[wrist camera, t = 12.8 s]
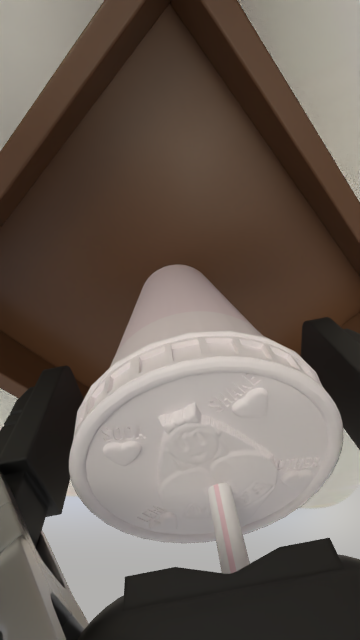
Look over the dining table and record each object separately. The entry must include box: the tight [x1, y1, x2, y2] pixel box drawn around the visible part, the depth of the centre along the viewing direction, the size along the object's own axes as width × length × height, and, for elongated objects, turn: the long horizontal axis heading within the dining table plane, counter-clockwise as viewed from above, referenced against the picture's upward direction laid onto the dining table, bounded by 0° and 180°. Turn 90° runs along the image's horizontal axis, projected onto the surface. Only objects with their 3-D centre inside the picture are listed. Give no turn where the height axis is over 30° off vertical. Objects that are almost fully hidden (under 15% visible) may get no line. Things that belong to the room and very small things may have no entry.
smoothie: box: [69, 265, 343, 574], centre depth 9 cm, size 6×6×14 cm
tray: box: [0, 0, 360, 398], centre depth 15 cm, size 18×17×3 cm
